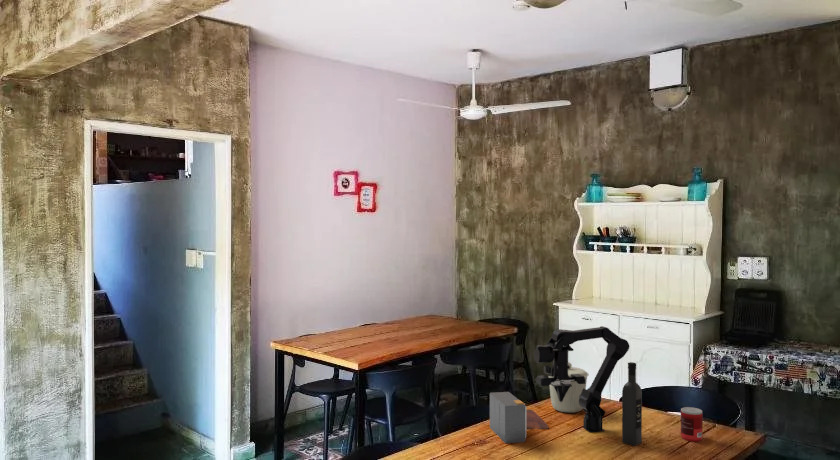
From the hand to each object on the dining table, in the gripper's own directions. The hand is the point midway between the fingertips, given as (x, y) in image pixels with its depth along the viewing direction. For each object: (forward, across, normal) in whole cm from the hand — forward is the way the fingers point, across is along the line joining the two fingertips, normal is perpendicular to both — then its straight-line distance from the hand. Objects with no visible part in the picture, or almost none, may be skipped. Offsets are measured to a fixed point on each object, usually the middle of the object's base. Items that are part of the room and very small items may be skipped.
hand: (560, 401), depth 247 cm
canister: (+12, -16, -28) cm, 34 cm away
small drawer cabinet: (+12, +22, -1) cm, 25 cm away
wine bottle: (+12, -21, +17) cm, 30 cm away
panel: (+11, +21, +5) cm, 24 cm away
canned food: (+12, -46, +17) cm, 51 cm away
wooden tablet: (+13, +6, -18) cm, 23 cm away
